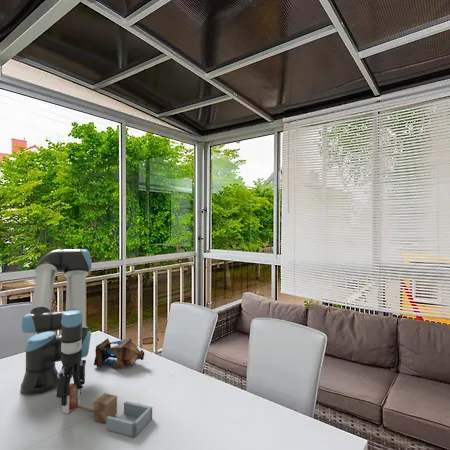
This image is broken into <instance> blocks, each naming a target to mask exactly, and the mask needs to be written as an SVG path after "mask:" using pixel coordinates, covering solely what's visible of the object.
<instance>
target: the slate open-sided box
mask: <svg viewBox="0 0 450 450" xmlns="http://www.w3.org/2000/svg"><path fill="white" fill-rule="evenodd" d="M151 420H153V406H150V405H145V404H141V403H136V402H132V401H128V400H125V401H124V402H123V413H122V414H121V415H120V416H119V417H115V416H114V417H111V416H108V417H107V418H106V426H105V428H106V431H107V432H112V433H116V434H119V435H123V436H126V437H130V438H136V437H137V436H138V435H139V434H140V433H141V431H143V429H144V428H145V427H146V426H147V425H148V424H149V422H151Z"/></svg>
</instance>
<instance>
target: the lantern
mask: <svg viewBox="0 0 450 450" xmlns="http://www.w3.org/2000/svg"><path fill="white" fill-rule="evenodd" d="M111 345H115V346H111ZM109 358H113V359H109ZM144 358H145V352H144V350H143V349H142V347H140V349H139V348H138V346H137V345H136V344H135V343H134V342H133V341H132V338H131V337H130V338H125V339H121V340H115V341H112V342H110V340H109V338H106V339H105V340H104V341H102V342H101V343H99V344H97V345H96V346H95V357H94V362H93V366H96V368H98V367H100V366H101V365H102V364H104V365H106V366H110V367H112V368H115V369H116V370H117V369H118V370H120V371H122V370H124V369H125V368H126V367H130V366H132V365H134V363H136V361H138V360H141V361H143V360H144ZM108 359H109V360H108Z"/></svg>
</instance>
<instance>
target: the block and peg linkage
mask: <svg viewBox="0 0 450 450" xmlns="http://www.w3.org/2000/svg"><path fill="white" fill-rule="evenodd" d="M68 396H69V413H72V412H75V411H76V410H77V409H79V410H82V411H83V410H84V411H86V412H91V413H93V414H92V416H93V417H92V420H95V421H97V422H100V423H106V418H107V417H108V416H111V417H115V416H116V415H117V414H118V396H117V395H116V394H115V395H114V394H110V393H106V392H104V393H102V394H101V395H100V396H98V397H97V398H96V399H95V400H93V409H91V408H88V407H84V406H80V405H79V406H78V405H77V404H76V384H75V383H74V382H73V383H71V382H70V385H69V391H68Z"/></svg>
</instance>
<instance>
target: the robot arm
mask: <svg viewBox="0 0 450 450" xmlns="http://www.w3.org/2000/svg"><path fill="white" fill-rule="evenodd" d="M91 271H92V259H91V253H90V250H89V249H84V248H83V249H82V248H73V249H72V248H71V249H54V250H51V251H48V252H47V253H46V254H45V255H43V256H42V257H41V258H40V259H39V261H37V263H36V266H35V270H34V273H35V275H36V278H35V284H34V289H33V294H32V295H33V296H32V299H31V305H30V312H29V313H28V314H24V315H23V316H22V320H21V331H22V333H24V334H34V335H32V336H30V337H29V338H28V339H27V340H26V343H25V349H24V350H25V351H24V352H25V373H24V375H23V378H22V382H21V384H20V393H21V394H23V395H27V396H37V395H41V394H45V393H47V392H50V391H53V390H54V389H56V398H58V399H61V400H60V402H61V403H60V404H61V406H62V409H61V412H62V413H63V414H69V413H70V412H69V396H68V391H69V385H70V384H71V380H73V383H75V384H76V404H77V405H78V406H80V404H81V401H80V399H81V394H82V393H81V390H82V389H83V388H84V385H85V383H86V363H87V360H86V359H83V358H86V357H87V356H88V355H89V352H90V351H89V350H90V344H91V343H90V342H91V337H92V331H91V330H89V327H88V326H87V325H86V317H85V316H86V313H85V312H86V278H87V276H88V275H89V272H91ZM58 273H63V276H64V277H65V278H66V293H65V298H66V299H65V311H64V310H63V311H51V310H52V301H53V293H54V284H55V278H56V275H57V274H58ZM55 331H61V333H60V334H57V333H56V332H55ZM36 333H37V334H36ZM57 362H61V363H62V365H61V366H62V367H61V370H60V371H59V372H58V370H57V367H56V363H57Z"/></svg>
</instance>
